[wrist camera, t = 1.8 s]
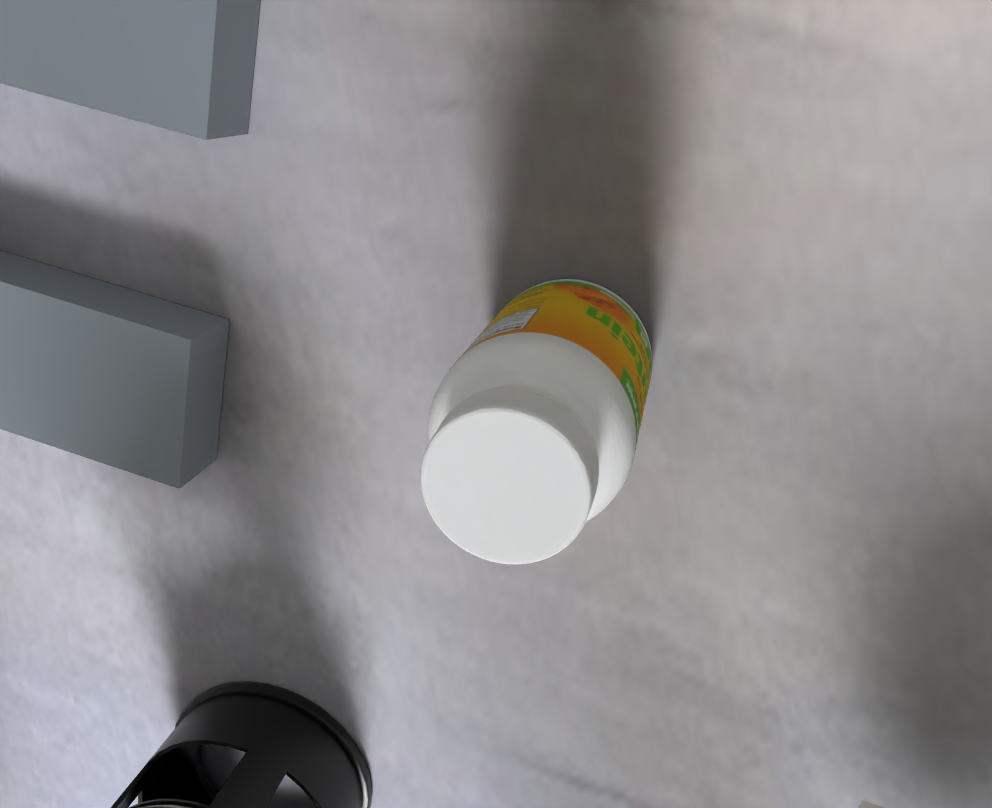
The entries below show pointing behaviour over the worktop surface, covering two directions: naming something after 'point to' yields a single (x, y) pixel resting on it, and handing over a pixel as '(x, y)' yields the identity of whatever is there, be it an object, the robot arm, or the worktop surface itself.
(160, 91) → the notched board
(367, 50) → the worktop surface
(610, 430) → the supplement bottle
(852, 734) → the worktop surface
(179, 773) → the french press
